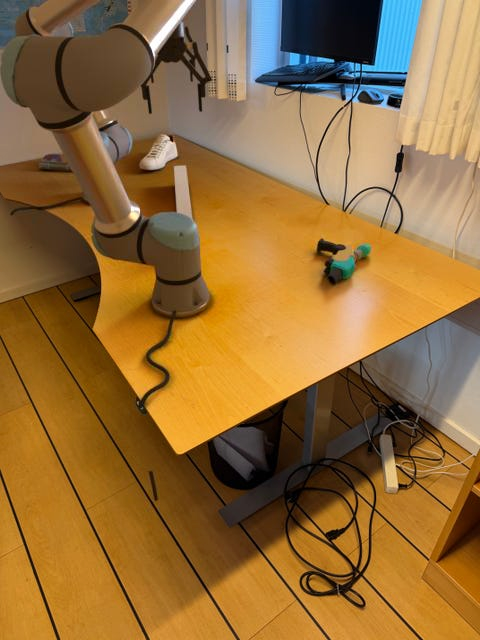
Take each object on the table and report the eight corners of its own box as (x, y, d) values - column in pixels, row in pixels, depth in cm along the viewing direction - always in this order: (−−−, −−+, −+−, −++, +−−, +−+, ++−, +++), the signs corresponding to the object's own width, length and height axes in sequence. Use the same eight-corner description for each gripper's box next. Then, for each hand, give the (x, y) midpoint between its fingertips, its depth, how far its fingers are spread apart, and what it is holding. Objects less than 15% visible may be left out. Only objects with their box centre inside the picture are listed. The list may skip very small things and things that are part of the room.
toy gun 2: (295, 266, 131) (348, 279, 125) (326, 230, 149) (373, 240, 144) (294, 280, 133) (346, 293, 128) (325, 243, 152) (371, 253, 146)
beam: (195, 253, 147) (193, 229, 143) (180, 254, 147) (177, 230, 142) (187, 185, 196) (185, 165, 191) (175, 185, 195) (173, 166, 190)
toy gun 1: (87, 162, 220) (72, 173, 209) (51, 160, 224) (33, 171, 212) (86, 154, 218) (70, 164, 206) (49, 152, 221) (31, 162, 209)
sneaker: (133, 173, 208) (129, 144, 201) (161, 153, 230) (158, 127, 223) (155, 175, 205) (151, 146, 198) (180, 155, 227) (178, 129, 220)
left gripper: (203, 7, 158) (206, 78, 170) (127, 9, 155) (136, 81, 168) (205, 9, 152) (208, 82, 164) (126, 10, 149) (135, 84, 162)
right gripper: (216, 17, 121) (219, 106, 134) (117, 19, 119) (129, 110, 131) (219, 19, 115) (222, 112, 128) (115, 22, 113) (128, 116, 125)
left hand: (172, 81), depth 166 cm, fingers open, 13 cm apart
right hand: (175, 111), depth 129 cm, fingers open, 13 cm apart
